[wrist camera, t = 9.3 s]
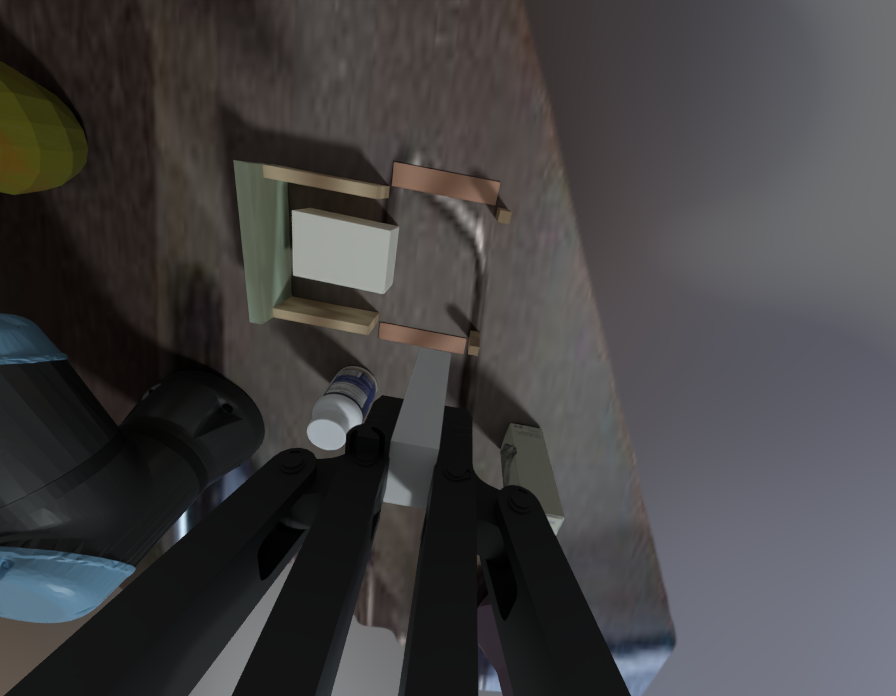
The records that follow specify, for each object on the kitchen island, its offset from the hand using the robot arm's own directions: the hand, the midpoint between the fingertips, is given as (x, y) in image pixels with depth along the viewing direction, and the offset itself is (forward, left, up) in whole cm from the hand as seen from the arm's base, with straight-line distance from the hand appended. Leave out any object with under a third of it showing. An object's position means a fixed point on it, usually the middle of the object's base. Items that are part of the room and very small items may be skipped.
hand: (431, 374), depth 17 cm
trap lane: (-7, 0, -21) cm, 22 cm away
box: (+12, -20, -21) cm, 31 cm away
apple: (-40, +6, -21) cm, 45 cm away
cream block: (-11, +1, -21) cm, 24 cm away
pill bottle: (-10, -16, -21) cm, 28 cm away
